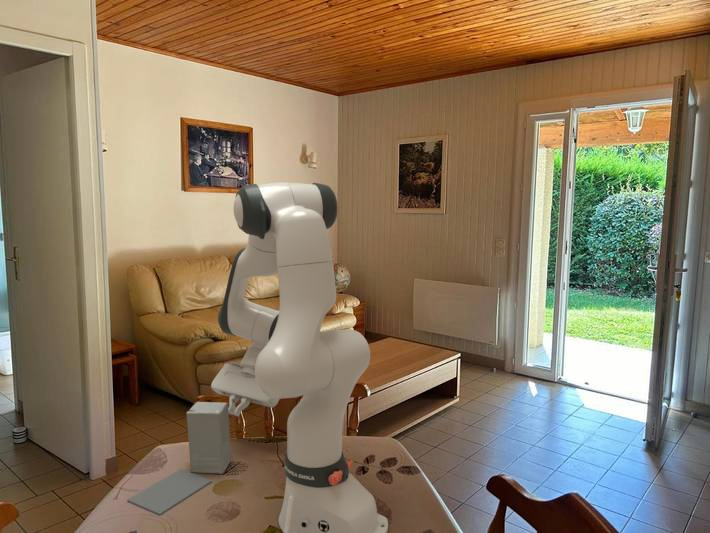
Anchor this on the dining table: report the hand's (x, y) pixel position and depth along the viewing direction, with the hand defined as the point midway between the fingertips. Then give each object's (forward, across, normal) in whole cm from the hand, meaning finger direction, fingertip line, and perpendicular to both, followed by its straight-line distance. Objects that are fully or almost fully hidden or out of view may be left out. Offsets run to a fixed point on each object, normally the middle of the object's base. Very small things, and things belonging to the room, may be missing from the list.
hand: (232, 414), depth 133 cm
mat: (+22, 0, -7) cm, 23 cm away
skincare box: (+13, 0, +2) cm, 14 cm away
